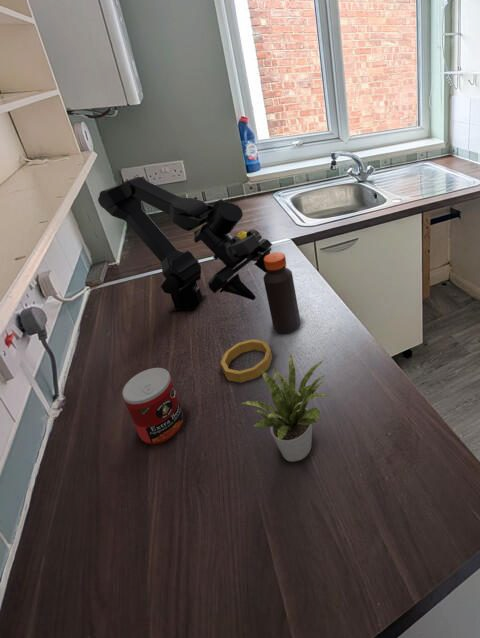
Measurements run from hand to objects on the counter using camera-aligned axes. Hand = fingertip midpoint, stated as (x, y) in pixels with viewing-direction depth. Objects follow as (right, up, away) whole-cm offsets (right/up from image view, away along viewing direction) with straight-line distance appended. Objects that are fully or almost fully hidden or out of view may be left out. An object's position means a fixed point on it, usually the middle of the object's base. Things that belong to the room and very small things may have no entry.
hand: (266, 288), depth 100 cm
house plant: (+15, -22, -28) cm, 39 cm away
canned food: (-13, -22, -23) cm, 34 cm away
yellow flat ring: (-1, -15, -9) cm, 18 cm away
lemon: (-19, +8, +39) cm, 44 cm away
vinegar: (+5, -10, +3) cm, 12 cm away
